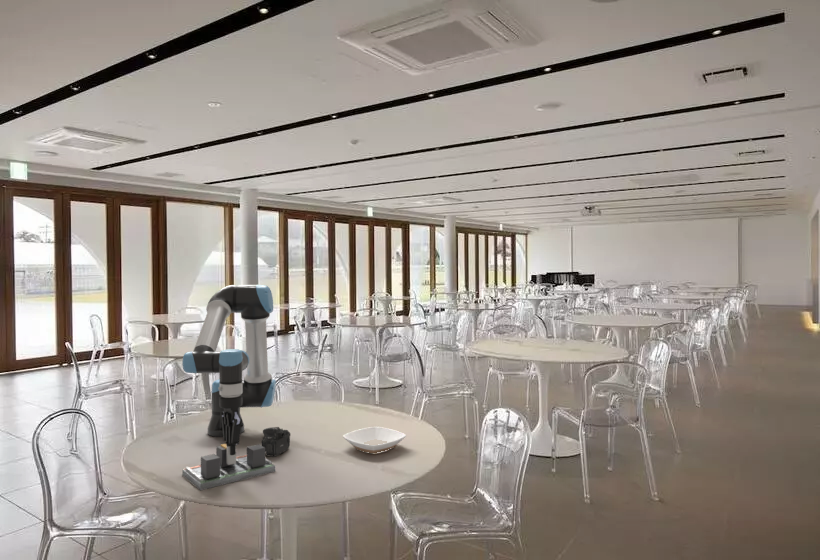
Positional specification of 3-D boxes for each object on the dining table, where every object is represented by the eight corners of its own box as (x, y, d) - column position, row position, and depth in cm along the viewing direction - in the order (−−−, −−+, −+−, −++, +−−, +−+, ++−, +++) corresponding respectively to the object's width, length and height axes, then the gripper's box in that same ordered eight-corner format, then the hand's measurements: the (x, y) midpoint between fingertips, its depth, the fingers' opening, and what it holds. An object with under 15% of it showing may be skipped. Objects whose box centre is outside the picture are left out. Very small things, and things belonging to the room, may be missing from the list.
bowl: (335, 448, 218) (335, 435, 218) (375, 436, 234) (375, 424, 234) (373, 461, 204) (373, 447, 203) (413, 448, 219) (413, 435, 219)
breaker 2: (216, 463, 195) (216, 445, 194) (228, 460, 197) (228, 442, 197) (221, 467, 191) (221, 448, 191) (234, 464, 194) (234, 446, 194)
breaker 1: (200, 474, 184) (200, 456, 184) (214, 471, 187) (214, 453, 187) (206, 479, 180) (206, 460, 180) (220, 475, 183) (220, 457, 183)
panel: (182, 475, 190) (182, 466, 190) (254, 458, 206) (254, 450, 206) (200, 490, 177) (200, 480, 177) (275, 471, 193) (275, 462, 193)
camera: (265, 447, 220) (265, 422, 220) (291, 446, 221) (291, 421, 221) (258, 458, 207) (258, 431, 207) (285, 458, 208) (285, 431, 207)
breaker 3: (246, 463, 194) (246, 446, 194) (258, 461, 197) (258, 444, 197) (253, 467, 190) (253, 450, 190) (265, 464, 193) (265, 447, 193)
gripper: (212, 393, 193) (213, 460, 193) (228, 400, 183) (228, 471, 183) (233, 390, 197) (234, 456, 198) (249, 396, 188) (249, 466, 188)
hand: (231, 463), depth 191 cm, fingers closed
